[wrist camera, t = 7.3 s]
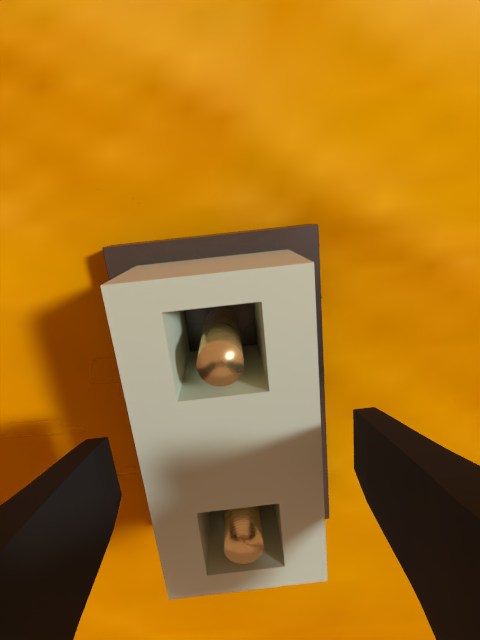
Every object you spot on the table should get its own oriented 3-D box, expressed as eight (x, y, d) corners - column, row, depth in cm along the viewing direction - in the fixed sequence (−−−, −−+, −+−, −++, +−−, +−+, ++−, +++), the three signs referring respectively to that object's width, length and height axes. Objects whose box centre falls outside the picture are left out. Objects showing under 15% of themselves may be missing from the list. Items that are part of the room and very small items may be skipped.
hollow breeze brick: (303, 495, 14) (327, 580, 11) (181, 510, 14) (168, 599, 11) (288, 249, 12) (314, 262, 8) (136, 265, 11) (100, 285, 8)
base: (322, 500, 16) (359, 606, 11) (167, 518, 16) (145, 632, 11) (310, 223, 12) (357, 227, 8) (112, 245, 12) (50, 260, 8)
